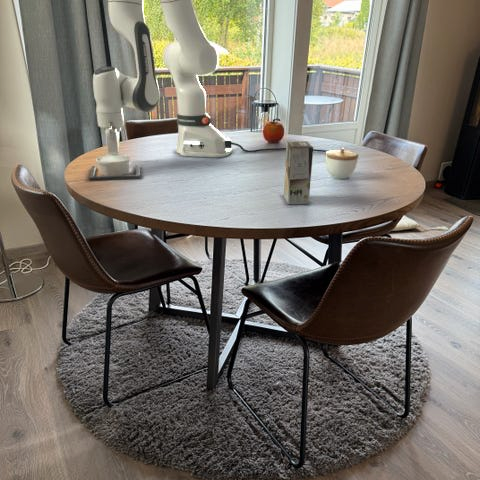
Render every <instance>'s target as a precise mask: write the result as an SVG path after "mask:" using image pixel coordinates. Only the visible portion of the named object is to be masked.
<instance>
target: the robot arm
mask: <svg viewBox="0 0 480 480" xmlns="http://www.w3.org/2000/svg"><path fill="white" fill-rule="evenodd" d="M159 3H160V6H161V11H162V14H163V18H164V22H165V26H166V28H167V30H168V31H169V32H171V33H172V34H173V36H174V38H175V39H176V40H174V41H172V42H169V43H167V44H165V46H164V48H163V51H162V62H163V64H164V66H165V67H166V68H167V70H168V71H169V73H170V76H171V78H172V81H173V84H174V88H175V93H176V102H177V103H176V104H177V113H176V123H177V124H176V125H177V143H176V148H175V152H176V153H177V154H179V155H181V156H182V157H195V158H196V157H197V158H198V157H199V158H224V157H226V156H229V155H231V153H232V146H236V147H239V148H240V149H241V150H242V151H243V152H245V153H256V152H267V151H286V147H271V148H259V149H251V150H248V149H245V148H244V147H243V146H242V145H241V144H239V143H236V142H232V140H231V139H230V138H229V137H225V135H224V134H223V133H221V132H220V131H219V130H218V129H217V128H216V127H214V125H212V121H211V120H212V119H213V116H212V115H209V114H208V113H207V94H206V91H205V89H204V88H203V86H202V85H201V83H200V81H199V77H198V76H200V77H203V76H208V75H212V74H214V73H215V71H216V70H217V69H218V66H219V60H220V58H219V53H218V50H217V48H216V47H215V46H214V45H213V44H212V43H211V42H210V41H209V40H208V38H207V36H206V35H205V33H204V31H203V29H202V27H201V25H200V23H199V20H198V17H197V13H196V8H195V5H194V4H195V3H194V0H159ZM107 10H108V17H109V21H110V24H111V26H112V27H113V29H114V30H115V31H116V32H117V33H118V34H119V35H121V36H122V37H124V38H125V39H126V40H127V41H128V42H129V43H130V44H131V46H132V49H133V51H134V60H135V67H136V74H137V75H136V77H132V76H128V75H126V74H124V73H121V72H120V71H119V70H118V69H117V68H116V67H114V66H102V67H99V68H97V69H95V70H94V72H93V75H92V89H93V97H94V100H95V104H96V108H95V114H96V121H97V126H98V127H99V128H101V130H102V132H103V133H105V143H106V153H107V155H119V152H120V151H119V149H120V137H121V136H120V135H121V134H120V133H121V131H122V127H124V126H125V120H124V119H125V118H124V110H123V108H124V107H125V108H128V109H133V110H138V111H141V112H144V113H150V112H153V111H154V110H155V109H156V108H157V107H158V104H160V100H161V92H160V87H159V84H158V80H157V74H156V66H155V65H156V64H155V57H154V49H153V48H154V47H153V41H152V34H151V31H150V29H149V26H148V25H147V22H146V18H145V13H144V0H107ZM328 151H329V150H327V149H317V148H313V152H318V153H319V152H320V153H326V152H328Z"/></svg>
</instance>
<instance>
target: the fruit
mask: <svg viewBox="0 0 480 480" xmlns="http://www.w3.org/2000/svg"><path fill="white" fill-rule="evenodd" d="M262 136H263V139H264V140H265V141H266V142H267V143H273V144H277V143H279V142H281V141H282V140H283V138H284V136H285V127H284V125H283V124H282V122H281V119H280V118H278V117H276V118H274V119H272V121H267V122H266V123H265V124H264V125H263V128H262Z"/></svg>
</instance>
